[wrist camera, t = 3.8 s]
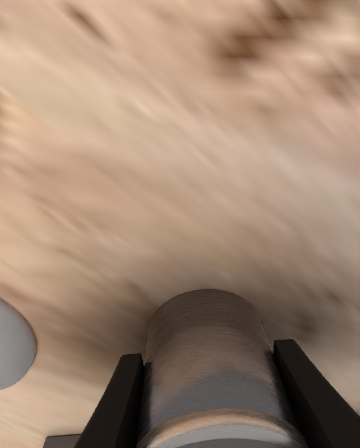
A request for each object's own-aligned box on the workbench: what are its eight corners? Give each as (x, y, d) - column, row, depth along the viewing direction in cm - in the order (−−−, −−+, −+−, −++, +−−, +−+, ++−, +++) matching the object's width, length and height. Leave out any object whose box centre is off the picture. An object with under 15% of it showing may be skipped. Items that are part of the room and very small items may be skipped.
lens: (264, 282, 11) (342, 461, 6) (263, 370, 12) (321, 562, 8) (137, 295, 11) (104, 480, 6) (156, 380, 13) (143, 574, 8)
